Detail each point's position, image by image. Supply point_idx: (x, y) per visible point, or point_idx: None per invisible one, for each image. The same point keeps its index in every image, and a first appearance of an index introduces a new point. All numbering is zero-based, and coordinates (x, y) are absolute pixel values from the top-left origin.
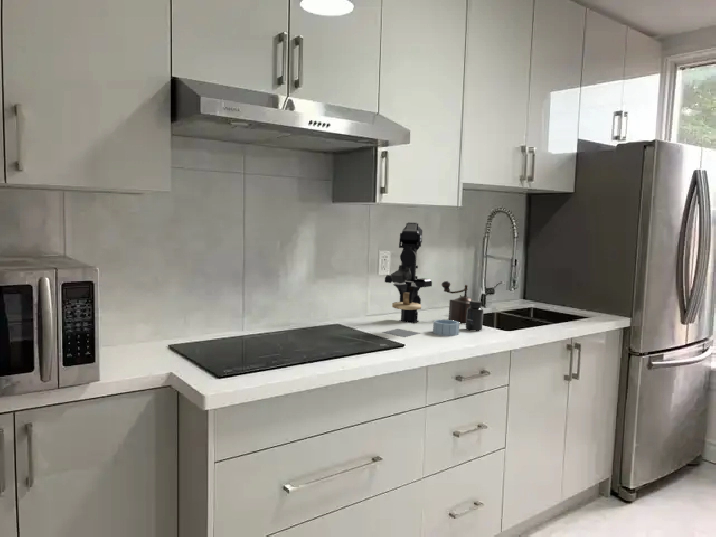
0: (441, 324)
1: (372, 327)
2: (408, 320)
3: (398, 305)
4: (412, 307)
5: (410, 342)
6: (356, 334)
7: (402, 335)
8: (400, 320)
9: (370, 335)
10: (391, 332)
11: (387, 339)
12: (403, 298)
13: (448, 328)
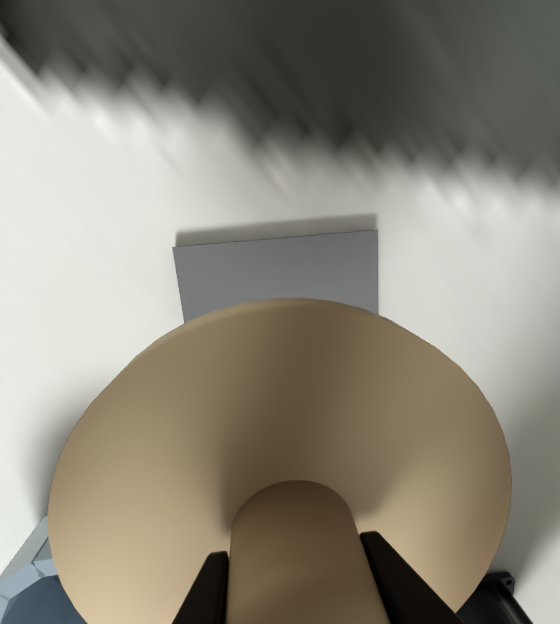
0: (48, 554)
1: (530, 339)
2: None
3: (286, 327)
4: (70, 439)
5: (59, 176)
6: (482, 56)
7: (218, 272)
8: (505, 583)
9: (393, 120)
10: (330, 285)
11: (227, 114)
12: (347, 585)
13: (19, 553)
